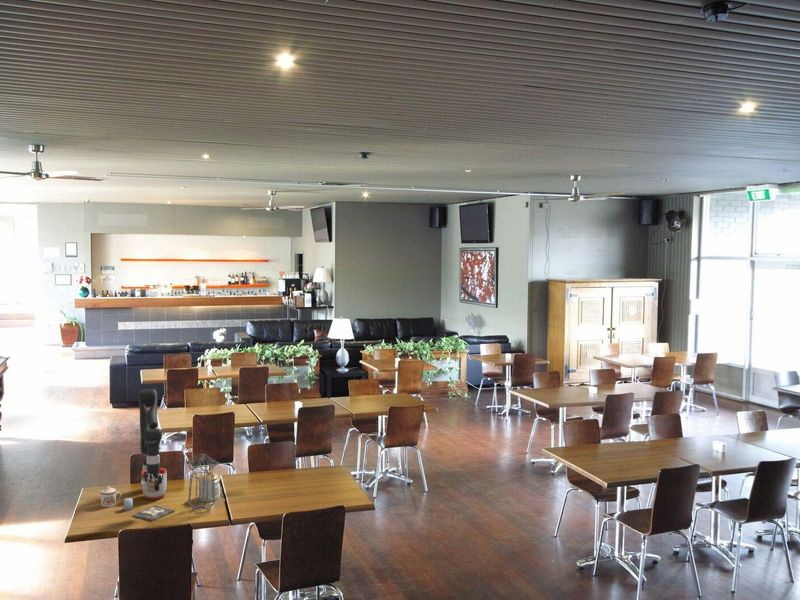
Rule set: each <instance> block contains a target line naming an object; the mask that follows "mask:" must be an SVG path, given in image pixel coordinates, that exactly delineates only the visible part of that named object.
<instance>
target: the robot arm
mask: <svg viewBox="0 0 800 600" xmlns="http://www.w3.org/2000/svg"><path fill="white" fill-rule="evenodd" d="M137 396H138V407H139V431H140V443H139V444H140V445H139V446H140V448H139V449H140V453H141V454H142V455H146V457H145V458H144V459H142V471H143V470H145V469H147V471H145V472H144V478H145V482H147V481H150V480H152V479H153V481H154V482H155V491H158V490H159V484H161V483H162V479H163V474H159V469H160V468H161V460H160V459H161V457H160V445H161V441H162V437H163V431H162V429H161V428H158V426H159V422H158V392H157V390H156V389H154V388H149V389H148V388H147V389H141V390H139V391H138V395H137ZM146 405H151V406H150V407H149V409H148V408H147V406H146ZM156 478H157V479H156Z"/></svg>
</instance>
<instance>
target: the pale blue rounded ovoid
mask: <svg viewBox="0 0 800 600" xmlns="http://www.w3.org/2000/svg"><path fill="white" fill-rule="evenodd" d="M133 501H134V500H133V498H132V497H131V498H130V497H127V498H124V499H123V510H124V511H125V512H127V511H129V512H130V511H132V510H134V509H133V508H134V504H133V503H134V502H133Z"/></svg>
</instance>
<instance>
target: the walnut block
mask: <svg viewBox="0 0 800 600" xmlns="http://www.w3.org/2000/svg"><path fill="white" fill-rule="evenodd" d="M159 490H160V484H159ZM159 490H158V491H159ZM147 492H152V493H154V492H157V491H155V482H154V481H153V480H150V481H147Z"/></svg>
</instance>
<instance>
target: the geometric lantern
mask: <svg viewBox="0 0 800 600" xmlns="http://www.w3.org/2000/svg"><path fill="white" fill-rule="evenodd" d="M205 462H206V464H207V465H205ZM185 464H186V465H187V466H188V468H189V471H190V473H189V475H190V476H189V488H188V501H187V503H188V504H189V506H191V507H192V511H193V512H195V513H197V514H203V513H206V512H210V511H211V507H213V506H214V505H215V503H216V500H215V494H214V496H213V501H212V500H210V499H208V482H207V498H201V499H202V501H201V499H200V479H203V478H200V476H202V475H203V474H204V478H208V477H205V473H208V471H210V473H211V475H212V476H210V477H213V478H212V495H213V491H214V475H213V473H214V469H213V468H215V467H216V466H217V465H219V464H220V462H218V461H217V460H216V459H214V458H212V457H210V456H208V455H207V454H206V453H200V454H198V455H196V456H195V457H193V458H191V459H189V460H187V461H185ZM202 464H203V465H202ZM203 467H204V468H203ZM207 467H208V469H206V468H207ZM196 469H201V470H202V471H200V472H195V470H196ZM210 473H209V474H210ZM197 474H200V476H199V477H198V476H197ZM194 475H195V476H194ZM193 478H194V479H196V484H195V485H196V486H195V499H194V500H191V499H192V498H191V495H192V485H193ZM198 482H199V483H198ZM198 484H199V485H198ZM197 496H198V497H197ZM203 496H204V481H203ZM203 499H207V500H210V501H209V502H212V503H211V504H205V503H206V502H208V501H207V500H206V501H203ZM197 501H201V502H202V503H199V504H197ZM191 502H194V503H195V504H192V503H191ZM206 509H208V510H206ZM196 510H198V511H196ZM202 510H205V511H202Z"/></svg>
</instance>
